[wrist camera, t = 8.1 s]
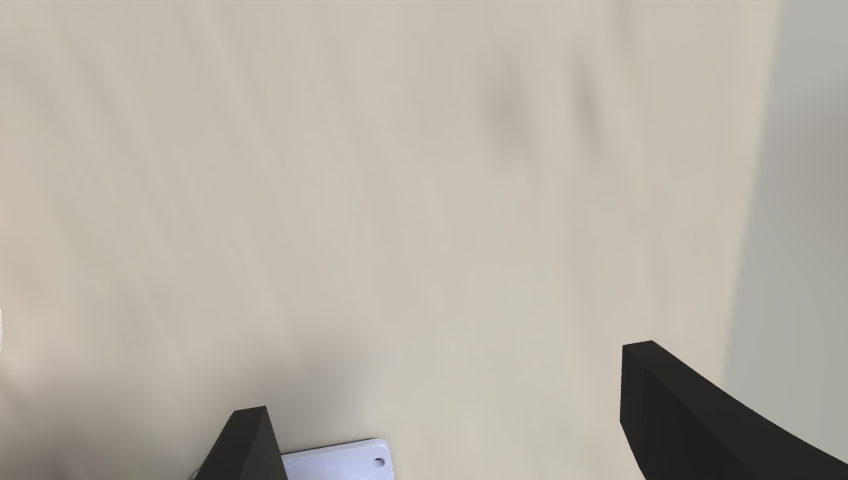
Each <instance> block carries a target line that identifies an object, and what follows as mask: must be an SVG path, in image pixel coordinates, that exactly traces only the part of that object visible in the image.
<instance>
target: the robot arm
mask: <svg viewBox="0 0 848 480" xmlns="http://www.w3.org/2000/svg"><path fill="white" fill-rule="evenodd" d="M620 423H621V425H622V428H623V430H624V433H625V435H626V438H627V440H628V443H629V445H630V448H631V450H632V452H633V455H634V457H635V459H636V462H637V464H638V466H639V468H640V470H641V472H642V474H643V475H644V477H645V479H646V480H848V464H847V463H844V462H843V461H841V460H838V459H837V458H835V457H833V456H831V455H829V454H827V453H825V452H823V451H822V450H820V449H818V448H816V447H814V446H812V445H810V444H808V443H807V442H805V441H803V440H801V439H799V438H797V437H796V436H794V435H792V434H791V433H789V432H787V431H785V430H784V429H782V428H781V427H779V426H777V425H776V424H774V423H772V422H771V421H769V420H767V419H766V418H764V417H762V416H761V415H759V414H758V413H756V412H754V411H753V410H751V409H750V408H748V407H747V406H745V405H744V404H742V403H741V402H739V401H738V400H736V399H734V398H733V397H732V396H730V395H728V394H727V393H726V392H724V391H723V390H721V389H720V388H718V387H717V386H716V385H714V384H713V383H711V382H710V381H708V380H707V379H705V378H704V377H703V376H701V375H700V374H698V373H697V372H696V371H694V370H693V369H691V368H690V367H689V366H687V365H686V364H685V363H683V362H682V361H680V360H679V359H678V358H676V357H675V356H674V355H672V354H671V353H669V352H668V351H667V350H665V349H664V348H662V347H661V346H660V345H658V344H657V343H655V342H654V341H652V340H650V341H644V342H639V343H633V344H627V345H623V349H622V376H621V403H620ZM377 458H382V459H381V460H375V459H377ZM193 480H395V476H394V471H393V466H392V461H391V456H390V450H389V445H388V443H387V442H386V441H385V440H382V439H371V440H365V441H359V442H353V443H348V444H342V445H336V446H331V447H325V448H319V449H313V450H308V451H302V452H296V453H291V454H285V455H281V454H280V451H279V448H278V444H277V441H276V438H275V434H274V431H273V428H272V425H271V421H270V418H269V415H268V411H267V408H266V406H260V407H255V408H249V409H243V410H237V411H234V412H233V414H232V415H231V416H230V418H229V420H228V421H227V423H226V425H225V427H224V428H223V430H222V432H221V434H220V435H219V437H218V439H217V441H216V442H215V444H214V446H213V448H212V449H211V451H210V453H209V454H208V456H207V458H206V459H205V461H204V463H203V464H202V466H201V468H200V469H199V470H198V471H197V472H196V473H195V474H194V476H193Z"/></svg>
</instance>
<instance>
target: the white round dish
mask: <svg viewBox="0 0 848 480" xmlns="http://www.w3.org/2000/svg"><path fill="white" fill-rule="evenodd" d="M2 341H3V321H2V314H1V310H0V353H1V349H2Z"/></svg>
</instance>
